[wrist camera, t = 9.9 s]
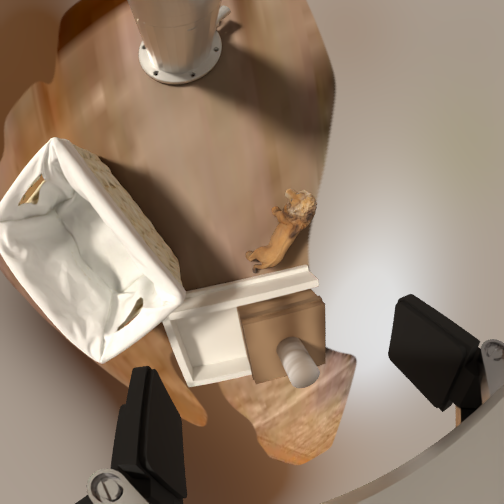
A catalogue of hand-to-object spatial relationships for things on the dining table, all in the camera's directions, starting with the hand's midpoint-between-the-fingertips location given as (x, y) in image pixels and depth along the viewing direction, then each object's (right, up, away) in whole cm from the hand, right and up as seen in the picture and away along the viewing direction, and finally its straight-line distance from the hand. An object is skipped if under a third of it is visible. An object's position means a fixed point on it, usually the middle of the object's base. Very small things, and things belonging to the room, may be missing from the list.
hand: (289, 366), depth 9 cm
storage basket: (-24, +7, +29) cm, 38 cm away
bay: (-3, -8, +38) cm, 39 cm away
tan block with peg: (+3, -8, +37) cm, 38 cm away
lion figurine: (+2, +8, +34) cm, 35 cm away
